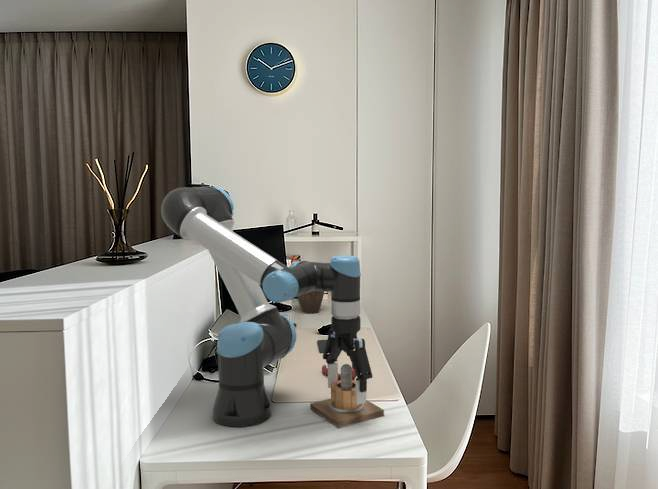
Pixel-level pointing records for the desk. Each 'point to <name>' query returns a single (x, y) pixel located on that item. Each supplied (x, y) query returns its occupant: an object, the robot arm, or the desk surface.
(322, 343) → the phone
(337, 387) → the light wood ring
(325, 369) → the pliers
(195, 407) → the desk surface
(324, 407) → the bobbin stand
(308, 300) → the plant pot
